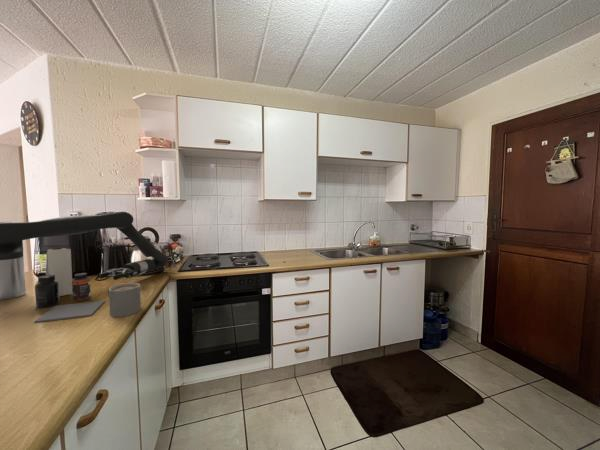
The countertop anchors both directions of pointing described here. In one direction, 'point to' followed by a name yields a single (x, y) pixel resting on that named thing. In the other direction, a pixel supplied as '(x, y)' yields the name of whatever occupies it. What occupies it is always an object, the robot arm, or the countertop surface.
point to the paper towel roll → (61, 268)
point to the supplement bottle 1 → (47, 291)
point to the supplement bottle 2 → (81, 287)
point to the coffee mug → (124, 299)
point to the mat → (70, 311)
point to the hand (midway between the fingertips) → (106, 277)
